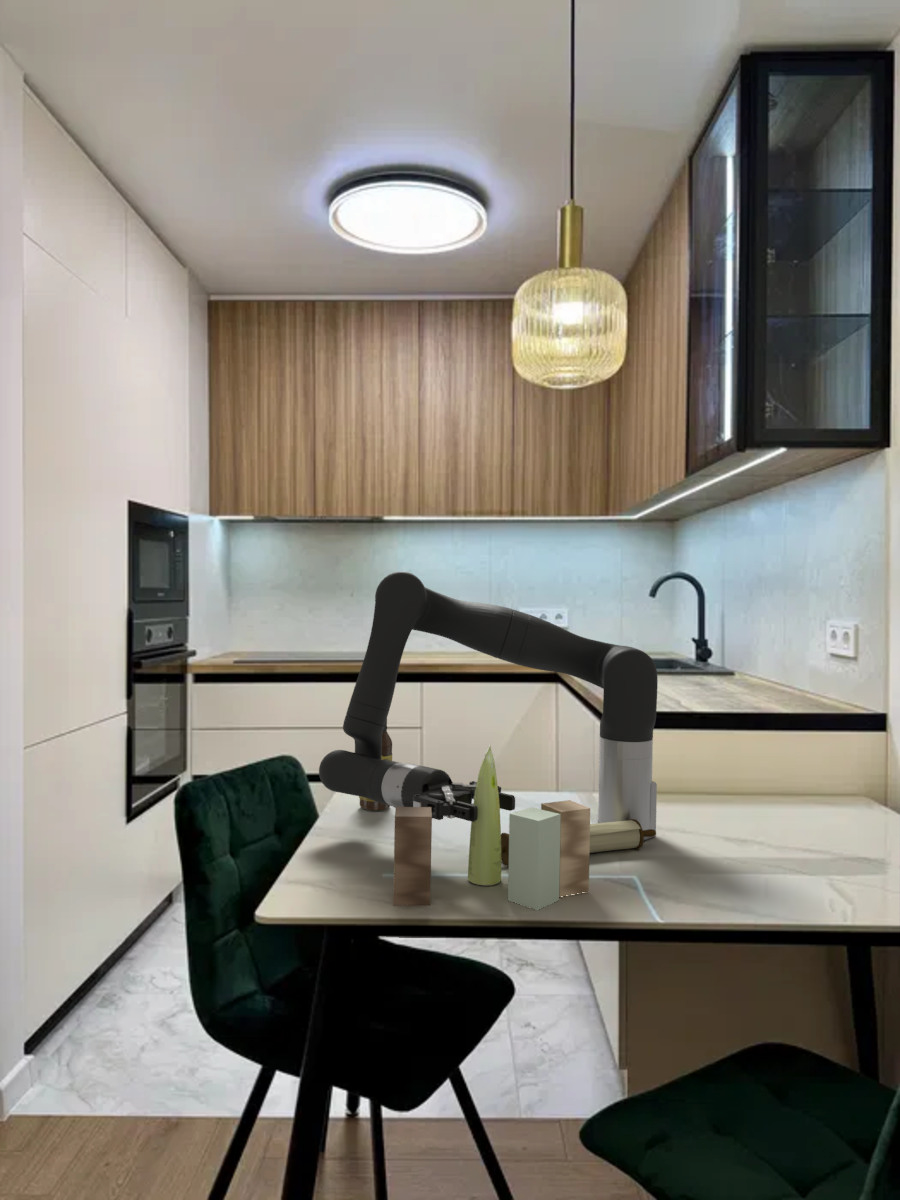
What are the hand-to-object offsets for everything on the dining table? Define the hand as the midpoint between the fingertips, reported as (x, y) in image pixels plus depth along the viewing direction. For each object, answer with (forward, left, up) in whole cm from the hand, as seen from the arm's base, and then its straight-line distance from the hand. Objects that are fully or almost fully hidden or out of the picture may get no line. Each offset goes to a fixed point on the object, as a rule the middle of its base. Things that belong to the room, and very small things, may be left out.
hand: (495, 808), depth 119 cm
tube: (+1, -2, -11) cm, 11 cm away
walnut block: (+13, +2, -11) cm, 17 cm away
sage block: (-3, +7, -11) cm, 14 cm away
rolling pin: (-17, -9, -11) cm, 22 cm away
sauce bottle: (+8, -46, -11) cm, 48 cm away
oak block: (-9, +4, -11) cm, 15 cm away
